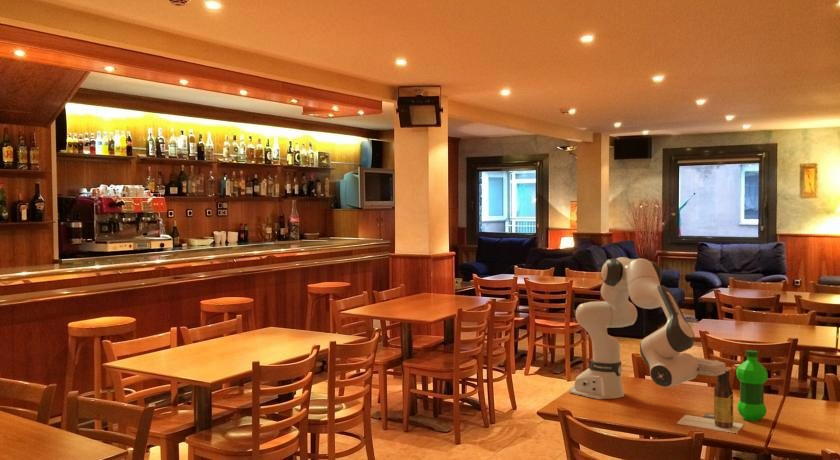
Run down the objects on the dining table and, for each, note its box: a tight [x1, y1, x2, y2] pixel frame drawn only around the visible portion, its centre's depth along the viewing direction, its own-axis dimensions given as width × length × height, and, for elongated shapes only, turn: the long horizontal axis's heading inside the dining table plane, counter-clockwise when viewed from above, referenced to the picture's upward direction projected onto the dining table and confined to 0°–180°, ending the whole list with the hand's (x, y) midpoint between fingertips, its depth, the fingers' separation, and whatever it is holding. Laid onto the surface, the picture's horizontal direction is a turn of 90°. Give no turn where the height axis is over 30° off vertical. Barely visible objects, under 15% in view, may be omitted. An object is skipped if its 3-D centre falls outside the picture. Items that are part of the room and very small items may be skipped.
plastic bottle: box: [735, 349, 769, 422], centre depth 253 cm, size 10×10×25 cm
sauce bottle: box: [713, 368, 734, 428], centre depth 245 cm, size 7×6×20 cm
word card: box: [703, 412, 714, 419], centre depth 256 cm, size 8×5×1 cm, turn 54°
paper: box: [676, 414, 745, 435], centre depth 248 cm, size 20×12×1 cm, turn 54°
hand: (703, 359), depth 240 cm, fingers open, 8 cm apart
